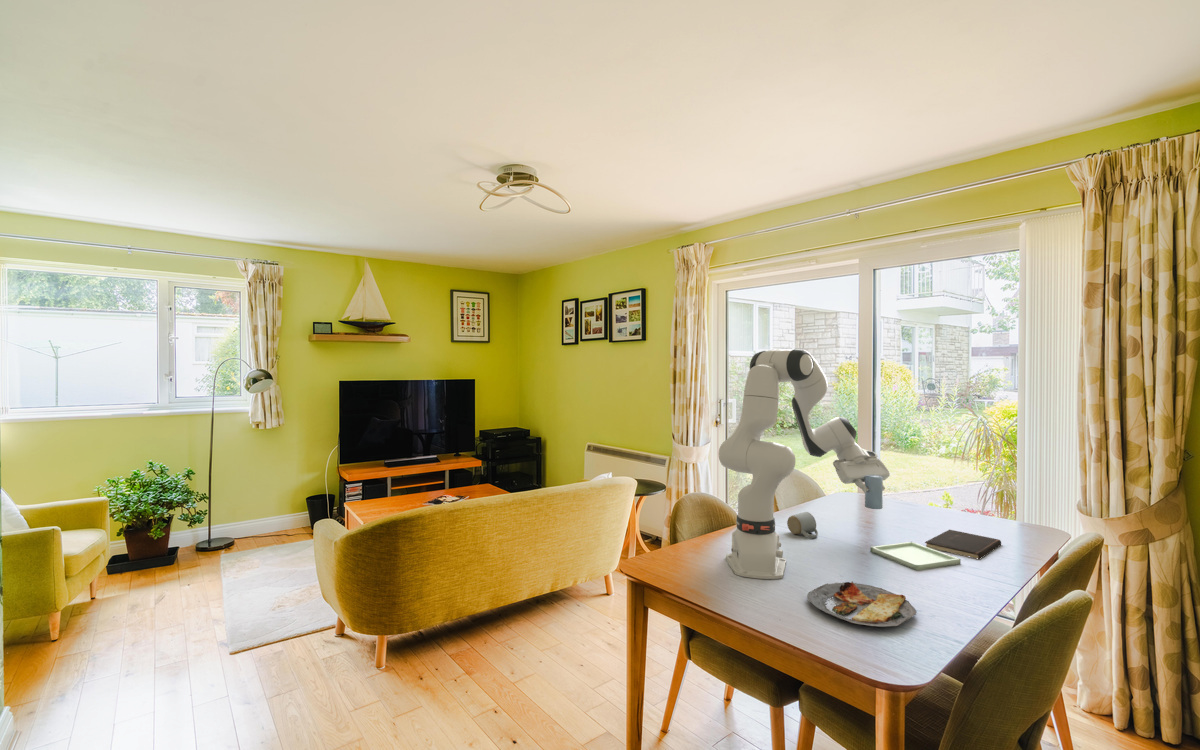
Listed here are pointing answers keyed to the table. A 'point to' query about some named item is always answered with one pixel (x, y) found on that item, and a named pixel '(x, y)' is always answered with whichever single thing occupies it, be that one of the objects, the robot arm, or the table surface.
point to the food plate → (863, 604)
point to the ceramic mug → (802, 524)
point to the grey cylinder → (874, 492)
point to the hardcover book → (963, 543)
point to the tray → (915, 555)
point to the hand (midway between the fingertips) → (875, 490)
